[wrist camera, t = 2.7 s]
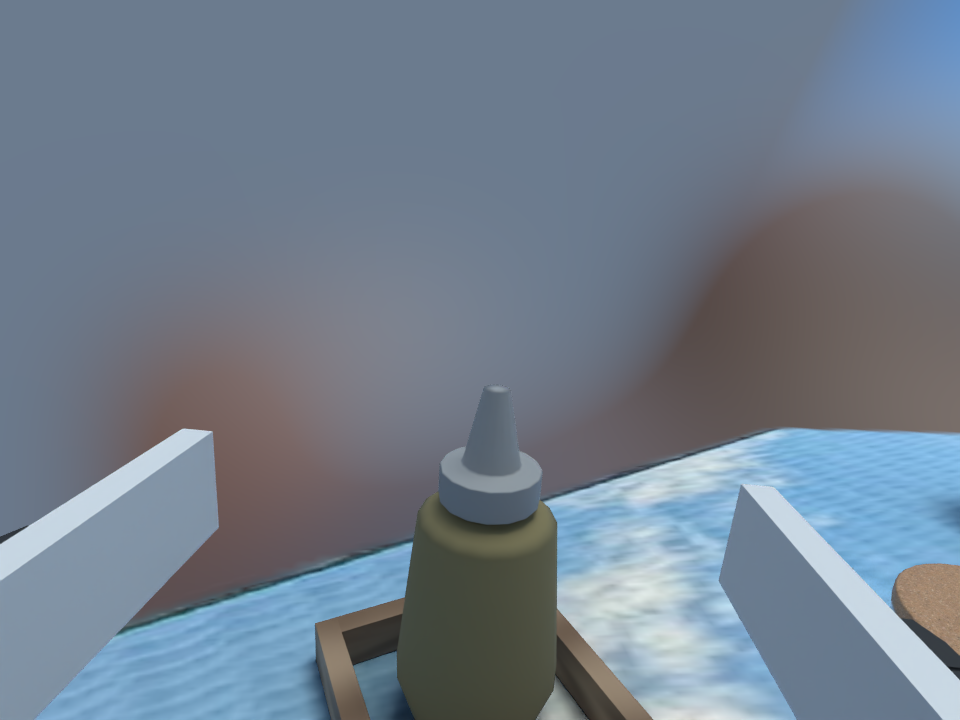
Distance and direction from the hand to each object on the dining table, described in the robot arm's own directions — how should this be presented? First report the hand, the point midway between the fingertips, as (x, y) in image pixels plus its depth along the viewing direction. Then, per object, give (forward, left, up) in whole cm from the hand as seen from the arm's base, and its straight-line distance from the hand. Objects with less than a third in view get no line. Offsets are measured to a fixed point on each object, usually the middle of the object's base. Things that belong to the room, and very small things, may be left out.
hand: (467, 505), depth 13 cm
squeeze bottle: (+8, -5, -18) cm, 21 cm away
